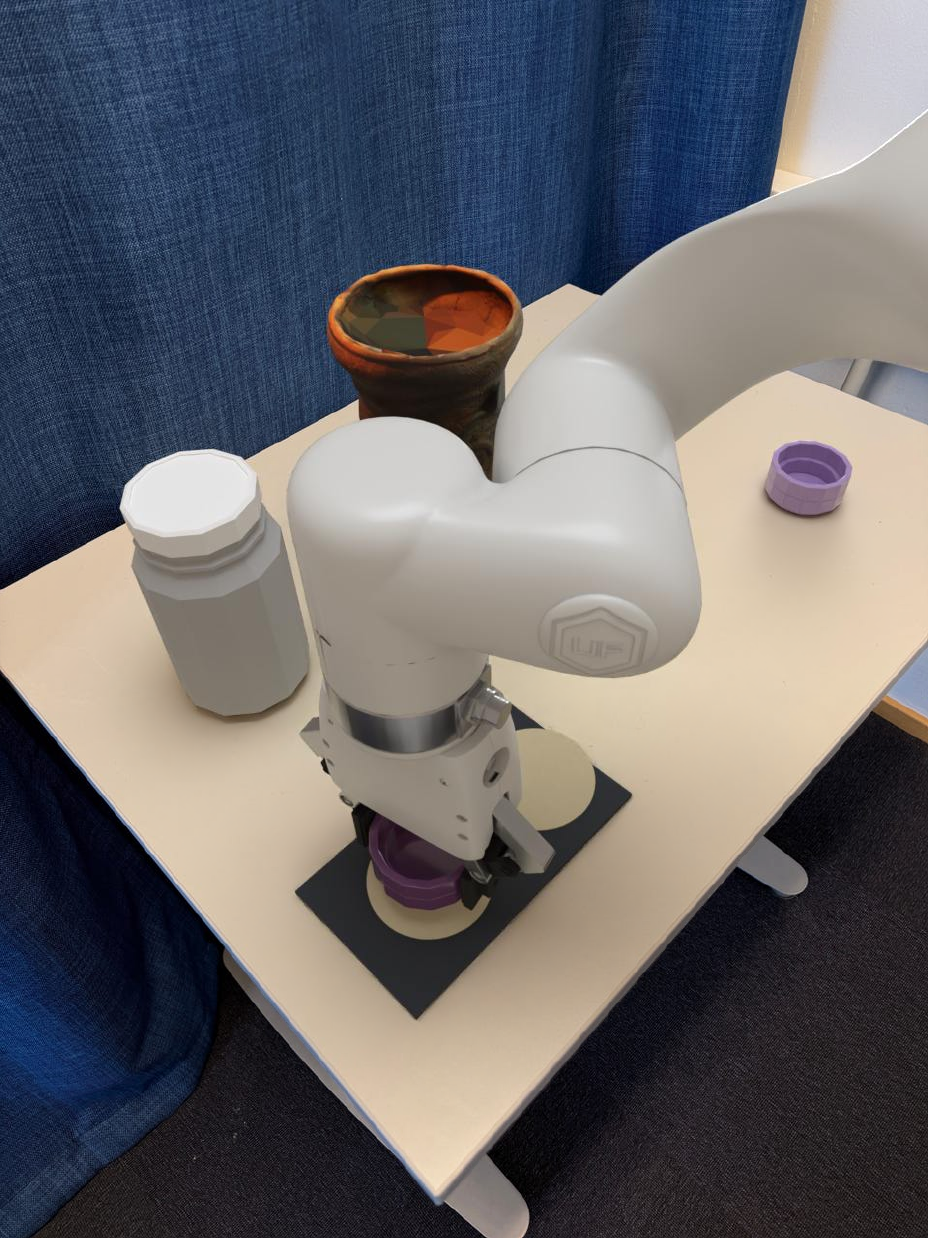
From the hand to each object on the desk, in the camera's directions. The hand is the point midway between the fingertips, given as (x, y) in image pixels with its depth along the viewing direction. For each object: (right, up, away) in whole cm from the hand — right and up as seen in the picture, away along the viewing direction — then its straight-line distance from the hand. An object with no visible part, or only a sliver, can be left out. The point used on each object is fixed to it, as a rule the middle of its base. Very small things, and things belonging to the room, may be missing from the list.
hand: (427, 856), depth 55 cm
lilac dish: (+32, +26, +26) cm, 49 cm away
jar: (-14, +10, +14) cm, 22 cm away
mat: (+3, 0, +4) cm, 5 cm away
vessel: (0, +23, +26) cm, 35 cm away
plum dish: (0, 0, +1) cm, 1 cm away
